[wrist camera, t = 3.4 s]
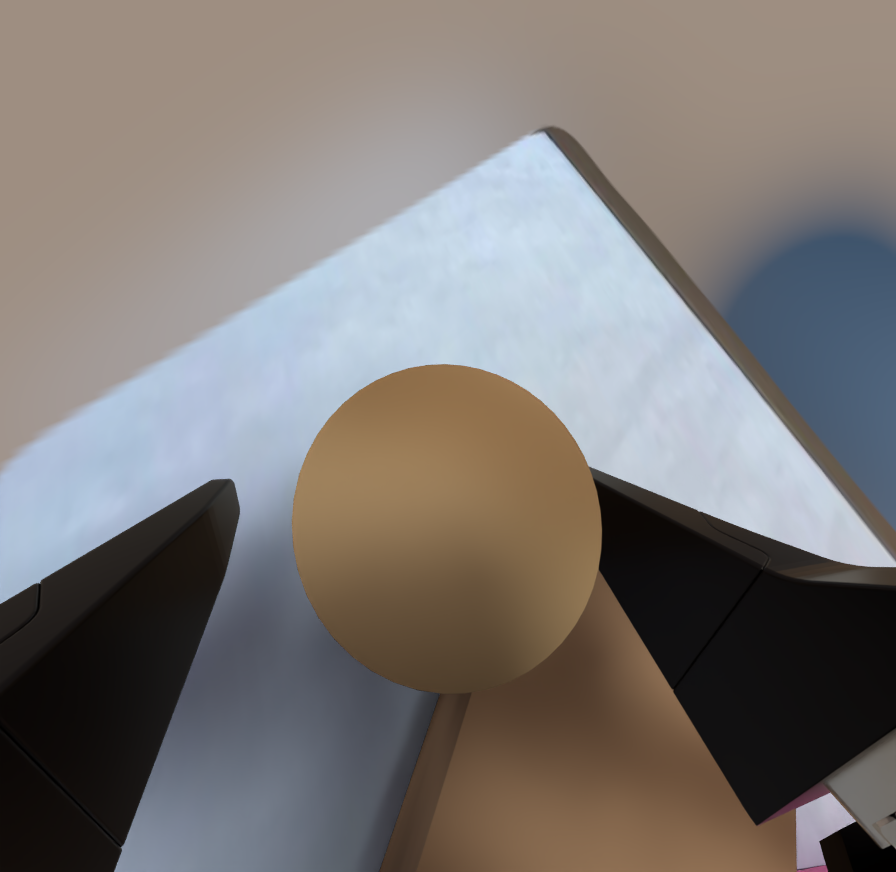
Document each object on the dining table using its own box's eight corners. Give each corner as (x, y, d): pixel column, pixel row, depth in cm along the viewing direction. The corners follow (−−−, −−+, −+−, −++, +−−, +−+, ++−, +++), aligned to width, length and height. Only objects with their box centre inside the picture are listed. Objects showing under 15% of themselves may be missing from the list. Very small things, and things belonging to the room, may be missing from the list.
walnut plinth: (705, 1005, 13) (800, 1131, 10) (373, 889, 12) (377, 996, 9) (727, 621, 18) (792, 634, 15) (501, 513, 17) (529, 506, 14)
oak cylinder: (421, 610, 15) (560, 751, 5) (316, 564, 14) (209, 605, 4) (462, 505, 17) (625, 440, 6) (370, 462, 16) (390, 317, 6)
